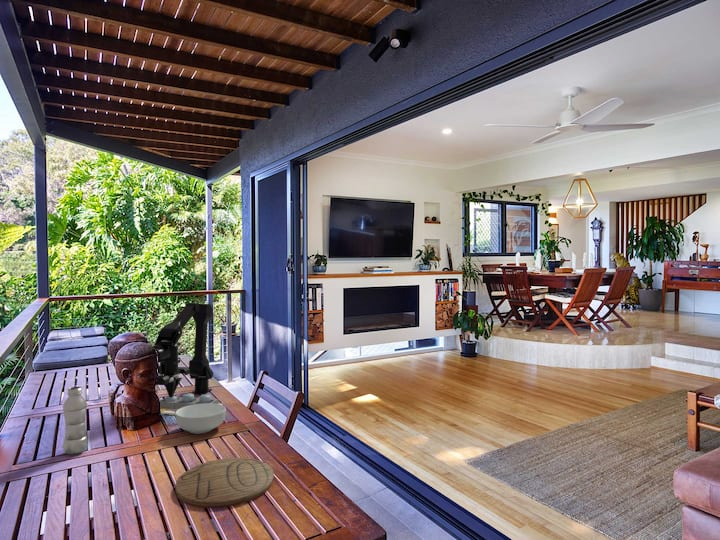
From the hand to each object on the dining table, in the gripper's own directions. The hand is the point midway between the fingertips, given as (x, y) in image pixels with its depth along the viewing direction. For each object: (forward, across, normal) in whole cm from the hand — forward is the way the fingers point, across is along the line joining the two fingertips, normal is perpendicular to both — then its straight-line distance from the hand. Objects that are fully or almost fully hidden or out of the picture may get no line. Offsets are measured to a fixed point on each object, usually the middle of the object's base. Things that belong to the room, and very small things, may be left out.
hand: (171, 396), depth 187 cm
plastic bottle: (+4, +45, -4) cm, 45 cm away
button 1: (+3, 0, 0) cm, 3 cm away
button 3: (+2, 0, +15) cm, 15 cm away
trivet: (+5, +55, +52) cm, 76 cm away
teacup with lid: (+5, -9, -18) cm, 20 cm away
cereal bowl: (+5, +20, +24) cm, 32 cm away
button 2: (+2, 0, +7) cm, 8 cm away
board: (+4, +1, +8) cm, 9 cm away
